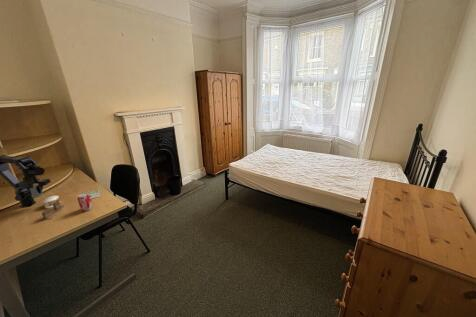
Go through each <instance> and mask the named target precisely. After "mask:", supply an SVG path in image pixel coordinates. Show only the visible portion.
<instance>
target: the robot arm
mask: <svg viewBox="0 0 476 317" xmlns="http://www.w3.org/2000/svg"><path fill="white" fill-rule="evenodd" d="M8 164H11V165H12V164H13V165H15V166H16V167H18V170H20V171H21V172H22V175H23V177H22V180H21V181H20V180H19V179H18V178H17V177H16V176H15V175H14V174H13V173H12V172H11V171H10V170H9V165H8ZM44 174H45V168H43V167H42V166H41V167H40V165H38V164H37V162H36V161H34V160H33V159H32V158H31V157H29V156H20V157H17V156H10V155H5V154H1V155H0V176H1V177H2V178H3V179H4V180H5V181H6V182H7V183H8V184H9V186H11V187H12V188H14V193H15V197H14V200H16V202H17V201H18V202H19V203H20V204H21V206H20V208H27V207H28V208H29V207H31V206H33V205H35V203H37V201H36V200H35V199H34V197H33V196H32V194H31V191H30V189H29V188H31V187H33V186H35V187H37V188H38V191H39V193H42V192H43V188H44V186H46V185H48V184H50V183H52V181H51V179H50V178H45V179H44V178H43V179H41V180H40V178H37V177H38V176H43V175H44Z"/></svg>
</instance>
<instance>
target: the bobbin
mask: <svg viewBox="0 0 476 317" xmlns="http://www.w3.org/2000/svg"><path fill="white" fill-rule="evenodd" d="M59 197H60V196H59V195H51V196H48V197H45V198H44V199H42V203H44V204H45V205H44V208H45V209H51V208H52V209H53V208H54V207H53V203H54V202H55V201H57V200H59ZM60 204H62V202H61V201H60Z"/></svg>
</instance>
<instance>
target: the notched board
mask: <svg viewBox="0 0 476 317" xmlns="http://www.w3.org/2000/svg"><path fill="white" fill-rule="evenodd" d="M60 202H61V201H60V199H57V200H56V201H55V202H54V203H53V208H52V209H51V208H45V210H43V211H42V212H41V215H42V218H41V219H40V221H47V220H52V219H53V218H54V217H55V216H56V215H57V214H59V212H60V211H61V210H62V209H63V208H64V207H66V205H65V204H64V205H63V204H62V203H60Z"/></svg>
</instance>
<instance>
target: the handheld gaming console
mask: <svg viewBox="0 0 476 317" xmlns="http://www.w3.org/2000/svg"><path fill="white" fill-rule="evenodd" d="M85 193H87V194H88V195H89V196H90V199H91V200H93V199H96V198H99V197H100V196H101V194H100V190H99V189H95V190H89V191H86V192H85Z"/></svg>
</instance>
